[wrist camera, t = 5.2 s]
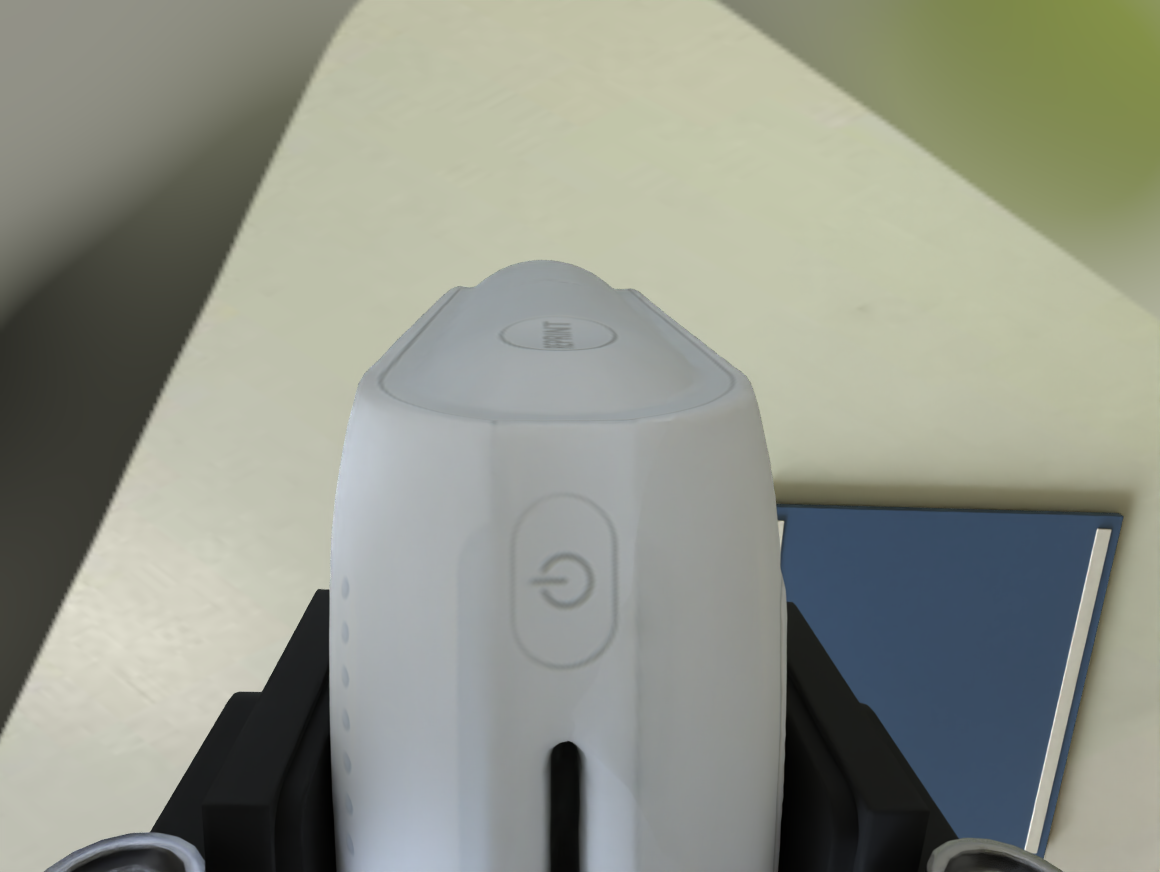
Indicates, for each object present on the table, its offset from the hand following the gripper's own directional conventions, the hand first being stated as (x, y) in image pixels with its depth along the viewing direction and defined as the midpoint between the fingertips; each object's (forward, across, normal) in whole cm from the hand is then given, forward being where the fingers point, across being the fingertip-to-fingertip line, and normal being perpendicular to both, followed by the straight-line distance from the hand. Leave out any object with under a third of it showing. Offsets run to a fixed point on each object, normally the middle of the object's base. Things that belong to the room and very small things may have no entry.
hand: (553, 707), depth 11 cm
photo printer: (+8, 0, 0) cm, 8 cm away
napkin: (+24, -18, +15) cm, 33 cm away
